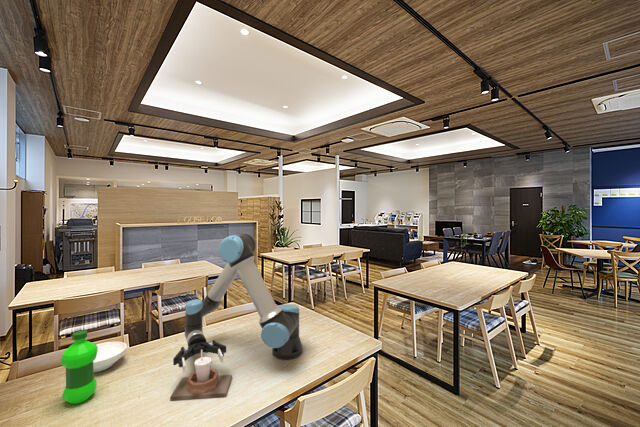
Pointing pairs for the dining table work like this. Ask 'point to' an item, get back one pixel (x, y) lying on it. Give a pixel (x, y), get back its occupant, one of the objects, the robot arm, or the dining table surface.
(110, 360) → the bowl
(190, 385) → the brown cup holder
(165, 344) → the dining table surface
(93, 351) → the plastic bottle
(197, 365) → the smoothie
